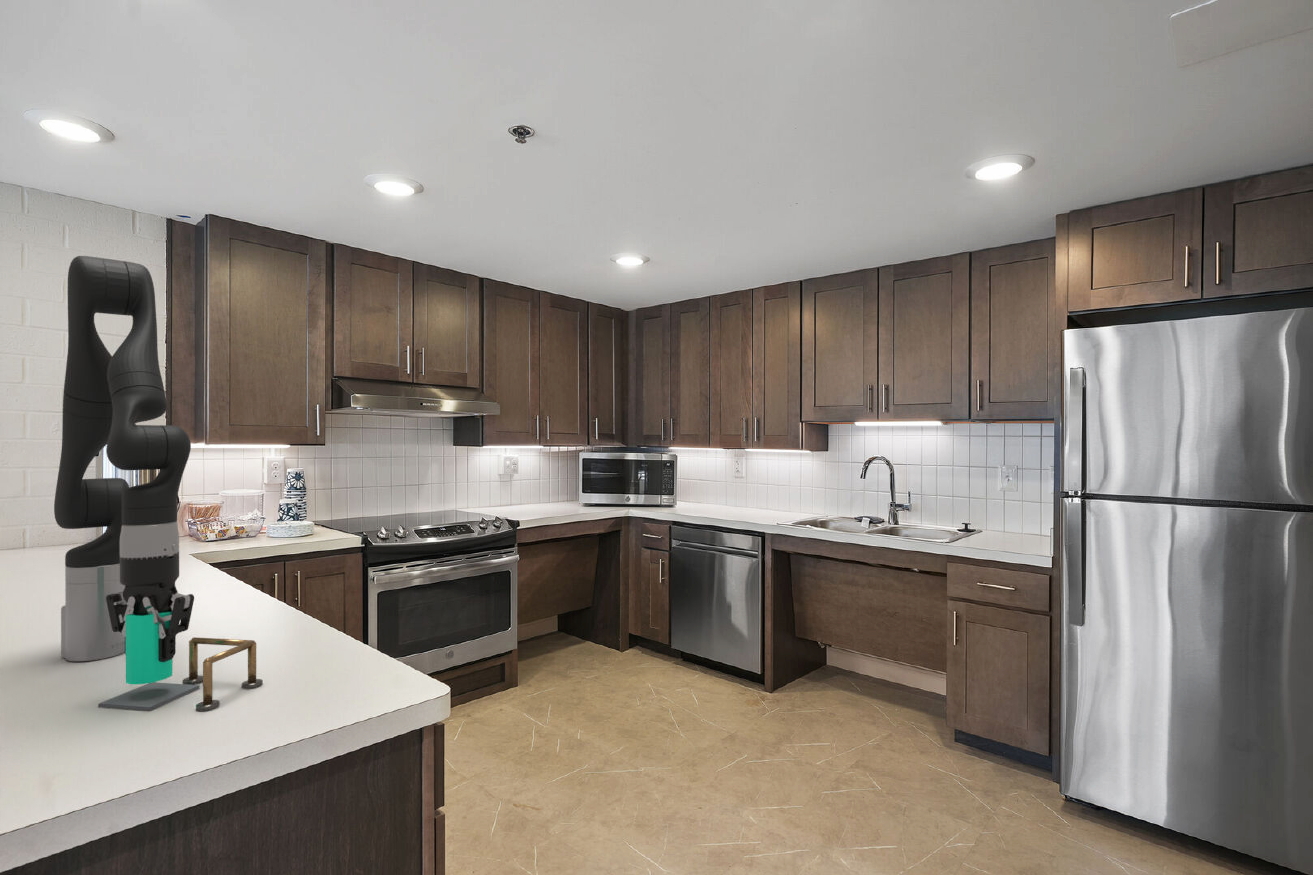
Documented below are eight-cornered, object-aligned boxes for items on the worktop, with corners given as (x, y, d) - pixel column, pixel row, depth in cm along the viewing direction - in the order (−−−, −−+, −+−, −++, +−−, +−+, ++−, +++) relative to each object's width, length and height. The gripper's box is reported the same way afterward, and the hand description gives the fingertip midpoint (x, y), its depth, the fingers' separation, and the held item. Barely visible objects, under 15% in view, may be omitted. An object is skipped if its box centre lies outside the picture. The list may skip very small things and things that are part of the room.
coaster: (98, 707, 102) (98, 703, 102) (151, 685, 111) (151, 682, 111) (150, 711, 101) (149, 707, 101) (199, 688, 110) (199, 685, 110)
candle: (147, 685, 102) (147, 607, 102) (115, 683, 104) (115, 605, 104) (182, 672, 108) (182, 597, 108) (151, 669, 109) (151, 596, 109)
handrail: (127, 706, 103) (127, 657, 103) (193, 678, 114) (192, 634, 114) (208, 712, 100) (208, 661, 100) (266, 682, 112) (266, 638, 112)
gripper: (87, 554, 103) (87, 665, 103) (169, 556, 101) (169, 670, 101) (132, 546, 111) (132, 650, 111) (209, 548, 108) (209, 654, 108)
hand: (150, 658), depth 106 cm, fingers closed on candle, 5 cm apart
